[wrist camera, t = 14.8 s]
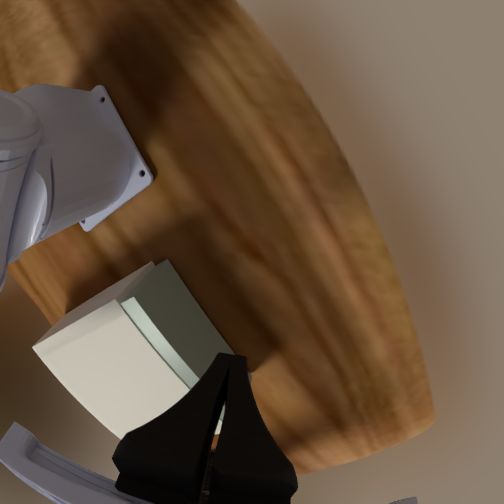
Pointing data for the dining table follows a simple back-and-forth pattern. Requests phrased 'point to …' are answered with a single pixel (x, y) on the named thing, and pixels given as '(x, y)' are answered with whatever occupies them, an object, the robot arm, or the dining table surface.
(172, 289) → the grey green drawer
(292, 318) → the dining table surface
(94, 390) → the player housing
